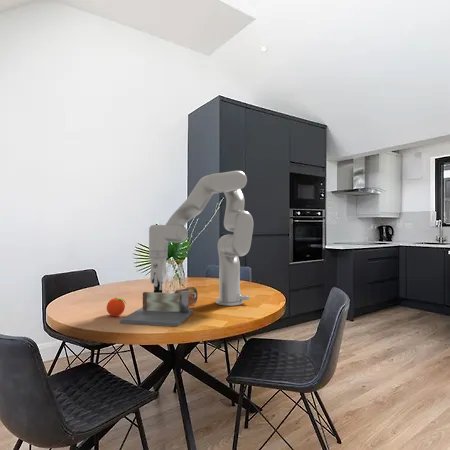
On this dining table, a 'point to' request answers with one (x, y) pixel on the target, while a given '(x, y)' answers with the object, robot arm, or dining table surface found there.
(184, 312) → the post
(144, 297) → the gate
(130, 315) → the board
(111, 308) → the clementine
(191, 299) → the tin
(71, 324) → the dining table surface
